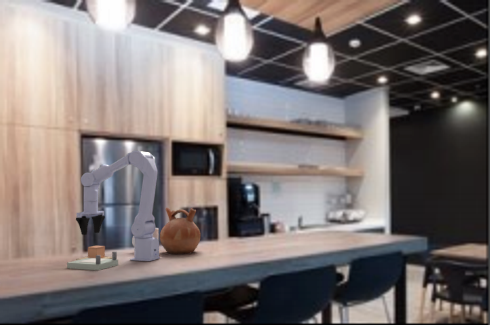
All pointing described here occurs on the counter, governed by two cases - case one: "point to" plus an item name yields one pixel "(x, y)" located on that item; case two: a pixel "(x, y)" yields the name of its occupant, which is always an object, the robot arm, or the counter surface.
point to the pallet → (101, 258)
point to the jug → (180, 233)
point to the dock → (94, 263)
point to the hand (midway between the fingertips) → (90, 233)
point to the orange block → (96, 251)
